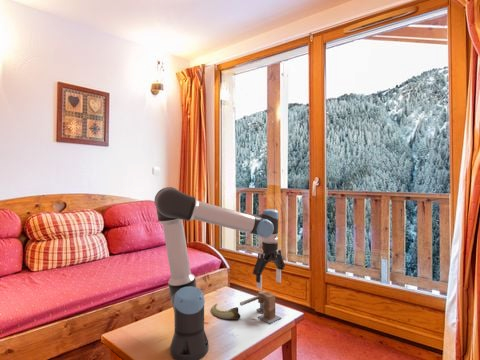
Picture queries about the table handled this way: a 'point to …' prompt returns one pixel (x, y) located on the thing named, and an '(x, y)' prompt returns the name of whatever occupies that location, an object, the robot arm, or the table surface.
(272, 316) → the tan brick
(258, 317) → the mat
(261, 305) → the grey lever handle
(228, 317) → the claw
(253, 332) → the table surface
